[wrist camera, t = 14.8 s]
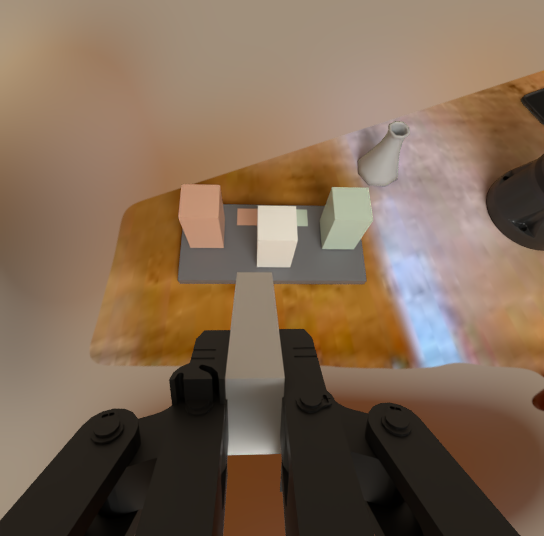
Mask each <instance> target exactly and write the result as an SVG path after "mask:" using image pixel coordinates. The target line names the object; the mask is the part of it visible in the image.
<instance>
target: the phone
mask: <svg viewBox="0 0 544 536" xmlns="http://www.w3.org/2000/svg"><path fill="white" fill-rule="evenodd" d="M521 102H522V104H523V105H524V106H525V107H526V108H527V109H528V110H529V111H530V112H531V113H532V114H533V115H534V116H535V117H536V118H537V119H538V121H539V122H540V123H542V124H543V125H544V88H543V89H541V90H538V91H535V92H532V93H529V94H527V95H525V96H524V97H523V98H522V99H521ZM525 104H526V105H525ZM530 109H531V110H532V111H533V112H532V111H531V110H530Z"/></svg>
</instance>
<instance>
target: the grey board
mask: <svg viewBox="0 0 544 536" xmlns="http://www.w3.org/2000/svg"><path fill="white" fill-rule="evenodd" d="M258 206H296V205H236V204H223V209H224V216H225V232H224V248H190V245H189V243H188V240H187V238H186V235H185V233H184V230H182V241H181V251H180V262H179V273H178V281H179V283H180V284H236V278H237V272H272V277H273V284H364V283H365V282H366V273H365V265H364V257H363V249H362V241H361V239H360V241H359V242H358V244H357V245H356V247H355V248H354V249H322V245H321V232H320V218H321V216H322V213H323V210H324V207H325V206H296V215H297V235H298V241H297V245H296V249H295V252H294V256H293V259H292V263H291V266H290V267H257V215H258Z"/></svg>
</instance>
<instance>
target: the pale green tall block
mask: <svg viewBox="0 0 544 536" xmlns="http://www.w3.org/2000/svg"><path fill="white" fill-rule="evenodd" d="M372 221H373V216H372V209H371V202H370V195H369V188H347V187H332V189H331V191H330V194H329V197H328V199H327V202H326V205H325V207H324V210H323V213H322V216H321V218H320V232H321V245H322V249H354V248H355V247H356V245H357V244H358V242H359V241H360V239H361V238H362V236H363V235H364V233H365V232H366V230H367V229H368V227H369V226H370V224H371V223H372Z"/></svg>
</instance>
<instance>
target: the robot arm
mask: <svg viewBox="0 0 544 536" xmlns="http://www.w3.org/2000/svg"><path fill="white" fill-rule="evenodd" d="M487 208H488V211H489V214H490V216H491V218H492V220H493V222H494V223H495V225H496V226H497V227H498V229H499V230H500V231H501V232H502V233H503V234H504V235H506V236H507V237H508V238H509V239H511V240H512V241H514V242H516V243H518V244H519V245H522V246H524V247H527V248H530V249H534V250H543V251H544V154H543V155H542V156H541V157H540V158H538V159H536V160H534V161H532V162H529V163H527V164H525V165H522V166H520V167H518V168H515V169H513V170H511V171H509V172H507V173H505V174H504V175H503V176H501V177H500V178H499V179H498V180H497V181H496V182H495V183H494V184H493V185H492V186H491V188H490V189H489V192H488V195H487ZM169 381H170V390H171V399H172V406H171V407H169V408H168V409H166V410H164V411H162V412H160V413H157V414H154V415H151V416H147V417H143V418H140V419H138V418H137V417H136V416H135V414H134V413H133V412H131V411H129V410H126V409H111V410H107V411H103V412H101V413H99V414H97V415H95V416H93V417H92V418H90V419H89V420H88V421H87V422H86V423H85V424H84V425H83V426H82V427H81V428H80V429H79V430H78V431H77V432H76V433H75V435H74V436H73V437H72V438H71V439H70V440H69V442H68V443H67V444H66V445H65V446H64V448H63V449H62V450H61V451H60V452H59V453H58V454H57V456H56V457H55V458H54V459H53V460H52V461H51V462H50V464H49V465H48V466H47V467H46V468H45V469H44V471H43V472H42V473H41V474H40V475H39V476H38V477H37V479H36V480H35V481H34V482H33V483H32V484H31V486H30V487H29V488H28V489H27V490H26V492H25V493H24V494H23V495H22V496H21V497H20V498H19V499H18V501H17V502H16V503H15V504H14V505H13V507H12V508H11V509H10V510H9V511H8V512H7V513H6V514H5V516H4V517H3V518H2V519H1V520H0V536H223V528H224V515H225V501H226V486H227V455H247V454H248V455H249V454H280V453H281V454H282V466H281V483H280V492H283V504H284V518H285V532H286V536H374V534H375V536H520V535H519V534H518V533H517V531H516V530H515V529H514V528H513V527H512V526H511V524H510V523H509V522H508V521H507V520H506V519H505V517H504V516H503V515H502V514H501V513H500V511H499V510H498V509H497V508H496V507H495V506H494V505H493V503H492V502H491V501H490V500H489V499H488V498H487V496H486V495H485V494H484V493H483V492H482V491H481V489H480V488H479V487H478V486H477V485H476V484H475V482H474V481H473V480H472V479H471V478H470V477H469V475H468V474H467V473H466V472H465V471H464V470H463V468H462V467H461V466H460V465H459V464H458V463H457V462H456V460H455V459H454V458H453V457H452V456H451V454H450V453H449V452H448V451H447V450H446V449H445V447H444V446H443V445H442V444H441V443H440V442H439V440H438V439H437V438H436V437H435V436H434V435H433V433H432V432H431V431H430V430H429V429H428V428H427V427H426V425H425V424H424V423H423V422H422V421H421V419H420V418H419V417H418V416H416V415H415V414H414V413H413V412H412V411H411V410H409V409H407V408H405V407H403V406H401V405H397V404H393V403H380V404H378V405H375V406H374V407H372V409H371V410H370V411H369V413H364V412H360V411H356V410H352V409H349V408H346V407H344V406H342V405H340V404H338V403H337V402H336V401H335V400H334V398H333V396H332V395H331V394H330V393H329V392H328V391H327V390H326V387H325V383H324V380H323V376H322V372H321V369H320V365H319V361H318V358H317V354H316V350H315V347H314V343H313V339H312V337H311V336H310V335H309V334H308V333H307V332H306V331H305V330H304V329H279V326H278V318H277V310H276V302H275V293H274V285H273V277H272V272H237V278H236V287H235V296H234V305H233V313H232V322H231V330H208V331H204V332H203V333H202V334H201V335H200V336H199V337H198V338H197V339H196V342H195V346H194V351H193V353H192V357H191V361H190V363H189V364H186V365H184V366H181V367H180V368H179V369H177V370H176V371H175V372H174V373H173V374H172V376H171V377H170V380H169Z"/></svg>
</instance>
